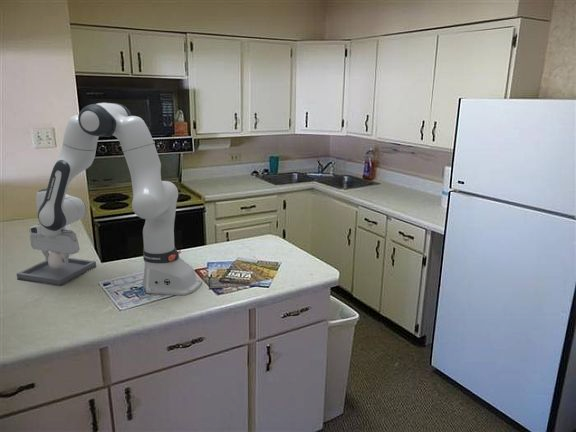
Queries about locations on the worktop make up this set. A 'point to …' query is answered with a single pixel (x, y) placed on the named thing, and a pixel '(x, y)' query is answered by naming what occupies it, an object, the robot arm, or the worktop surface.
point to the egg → (56, 260)
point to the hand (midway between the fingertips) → (57, 261)
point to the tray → (56, 272)
